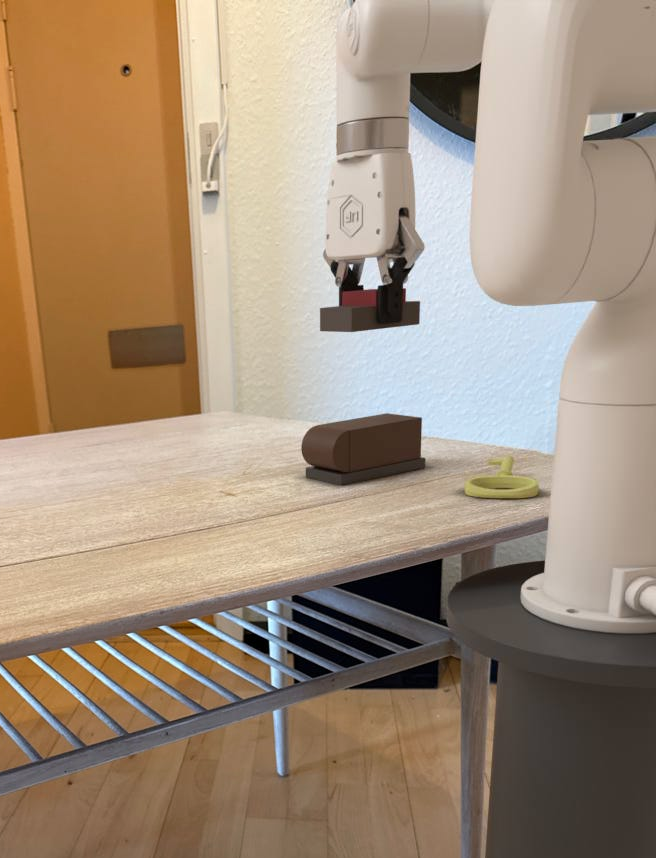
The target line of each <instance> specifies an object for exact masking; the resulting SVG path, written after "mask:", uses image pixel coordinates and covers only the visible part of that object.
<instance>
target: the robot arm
mask: <svg viewBox="0 0 656 858" xmlns="http://www.w3.org/2000/svg"><path fill="white" fill-rule="evenodd" d="M336 25H337V26H336V143H335V148H336V161H335V162H333V163H332V165H331V171H330V177H329V183H328V190H327V197H326V212H325V213H326V214H325V234H324V235H325V237H324V239H325V241H324V243H325V244H324V245H325V248H324V250H323V252H322V258H323V259H324V261H325V262H326V264H327V265H328V266H329V268H330V272H331V273H332V275H333V277H334V278H335V279H334V284H335V286H336V287H338V306H342V292H346V291H357V290H365V288H364V284H360V283H361V279H362V274H363V269H364V266H365V261H366V259H370V258H376V261H377V267H378V270H379V275H380V279H381V284H382V285H381V284H379V285H377V288H376V289H377V291H378V304H377V322H378V324H390V323H398V322H401V321H402V312H403V288H404V285H405V284H407V283H408V280H409V275H410V272H411V271H412V270H413V269H414V267H415V263H416V262H417V260H418V259H419V258H420V257H421V255H422V254H423V252H424V250H425V243H424V241H423V240H422V238H421V236H420V235H419V233H418V232H417V230H416V187H415V176H414V168H413V159H412V154H411V153H410V152H409V148H410V147H409V146H410V145H409V141H410V138H409V137H410V106H411V105H410V103H411V74H421V73H422V74H423V73H459V72H464V71H467V70H471V69H472V68H474V67H475V66H477V65H479V64H481V65H480V74H479V87H478V102H477V103H478V104H477V116H476V130H475V143H474V144H475V145H474V155H473V156H474V157H473V158H474V159H473V173H472V186H471V199H470V214H469V215H470V217H469V250H470V261H471V266H472V271H473V274H474V277H475V279H476V282H477V284H478V286H479V287H480V288H481V290H482V291H483V292H484V294H485V295H487V296H488V297H489V298H490V299H492V300H493V301H495V302H497V303H500V304H503V305H507V306H512V307H534V306H547V305H561V304H573V303H584V302H595V303H594V304H593V307H592V308H591V309H590V311H589V313H588V315H587V316H586V317H585V320H584V321H583V322H582V324H581V325H580V328H579V329H578V331H577V333H576V334H575V336H574V338H573V339H572V342H571V343H570V346H569V348H568V350H567V353H566V356H565V358H564V361H563V366H562V370H561V374H560V375H561V376H560V383H559V392H558V393H559V394H558V404H557V413H556V414H557V415H556V426H555V438H554V439H555V440H554V450H553V463H552V476H551V485H550V499H549V509H548V510H549V511H548V523H547V533H546V547H545V559H544V561H545V569H544V573H541V574H539V575H536V576H533V577H532V578H530V579H528V580H527V581H526V582H525V583H524V584H523V585H522V588H521V597H520V598H521V603H522V605H523V606H524V607H525V608H526V609H527V610H528V611H529V612H531V613H532V614H534V615H536V616H538V617H540V618H542V619H544V620H547V621H549V622H552V623H555V624H559V625H562V626H566V627H570V628H575V629H581V630H586V631H593V632H602V633H615V634H648V633H656V135H655V136H653V135H652V136H635V137H633V136H632V137H617V138H612V139H598V140H596V139H595V140H584V137H585V131H586V126H587V121H588V117H589V116H594V115H595V116H598V115H599V116H600V115H617V114H619V115H620V114H637V113H638V114H639V113H640V114H641V113H655V112H656V0H354V2H353V4H352V6H351V7H349V8H346V10H344V12H342V14H341V15H340V17H339V19H338V21H337V24H336ZM391 263H392V266H391ZM350 265H352V268H351V266H350Z"/></svg>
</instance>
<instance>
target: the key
mask: <svg viewBox="0 0 656 858" xmlns="http://www.w3.org/2000/svg"><path fill="white" fill-rule="evenodd" d="M514 463H515V458H514V457H513V456H512V455H510V454H509V455H505V456H504V457H503V458H488V463H487V465H488V466H500V468H499V470H497V471H496V473H495V474H493V475H480V476H474V477H473V476H472V477H470V478H468V479H466V481H465V483H464V494H465V495H467V496H470V497H475V498H484V499H485V498H488V499H526V498H533V497H536V496H537V495H538V493H539V489H540V487H539V481H538V480H537V479H536V478H532V477H529V476H521V475H514V474H513V472H512V471H513V470H512V469H513V466H514Z"/></svg>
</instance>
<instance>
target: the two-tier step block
mask: <svg viewBox="0 0 656 858" xmlns="http://www.w3.org/2000/svg"><path fill="white" fill-rule="evenodd" d="M377 289H378V288H368V289H364V290H357V291H346V292H342V306H339V305H336V306H327V307H320V308H319V331H320V332H330V333H331V332H332V333H333V332H335V333H357V332H363V331H364V332H366V331H373V330H383V329H390V328H391V329H392V328H400V327H409V326H417V325H420V319H421V316H420V315H421V301H420V300H406V299H407V288H405V287H403V312H402V321H401V322H398V323H390V324H378V322H377V304H378V291H377Z"/></svg>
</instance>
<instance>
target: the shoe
mask: <svg viewBox="0 0 656 858" xmlns="http://www.w3.org/2000/svg"><path fill="white" fill-rule="evenodd" d="M422 429H423V417H421V416H414V415H413V416H412V415H403V414H395V413H388V412H387V413H381V414H375V415H369V416H363V417H357V418H352V419H351V418H350V419H345V420H339V421H332V422H327V423H322V424H317V425H314V426H312V427H311V428H309V429H308V430H307V431H306V432H305V434H304V436H303V438H302V441H301V447H300V449H301V455H302V458H303V459H304V461H305V462H306V463H307V464H308V465H309V466H307V467H305V478H308V479H313V480H317V481H321V482H325V483H329V484H334V485H339V486H344V485H349V484H354V483H360V482H363V481H364V482H365V481H369V480H373V479H377V478H383V477H387V476H391V475H392V476H393V475H397V474H402V473H407V472H411V471H416V470H421V469H425V468H426V458H425V457H422V433H423V432H422V431H423V430H422Z"/></svg>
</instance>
